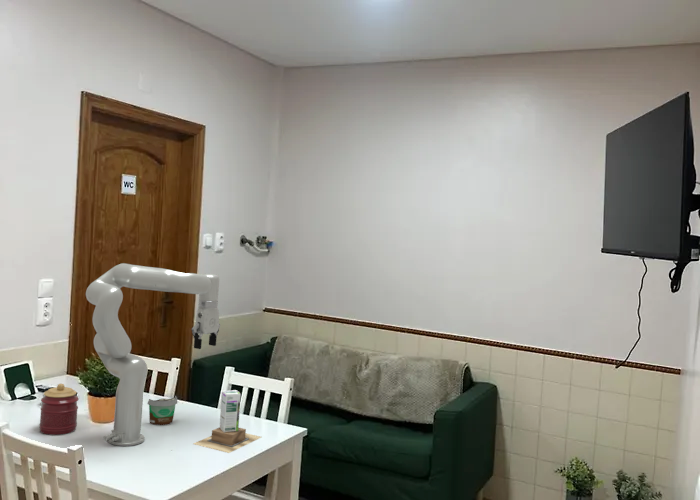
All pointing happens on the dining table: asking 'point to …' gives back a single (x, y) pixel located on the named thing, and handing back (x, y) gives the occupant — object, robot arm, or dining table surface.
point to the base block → (228, 436)
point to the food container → (162, 411)
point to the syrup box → (230, 411)
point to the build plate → (224, 447)
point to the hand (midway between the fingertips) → (204, 346)
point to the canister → (59, 411)
